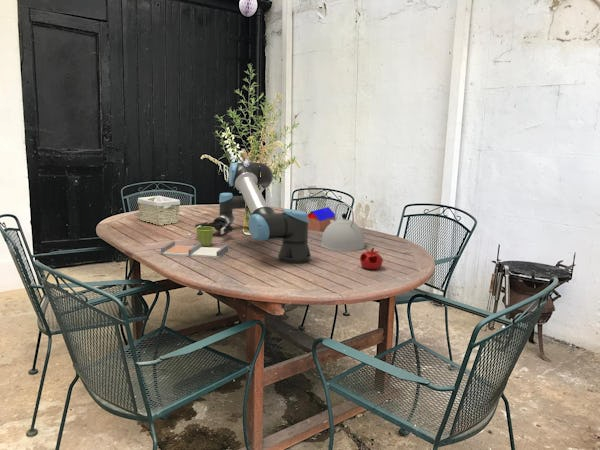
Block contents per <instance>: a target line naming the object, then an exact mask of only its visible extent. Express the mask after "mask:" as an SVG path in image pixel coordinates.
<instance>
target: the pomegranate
mask: <svg viewBox="0 0 600 450" xmlns="http://www.w3.org/2000/svg"><path fill="white" fill-rule="evenodd" d="M374 250H375V247H371V249H370V250H368V249H366V250H365V251H364V252H363V253H361V255H360V257H359V262H360V265H361V267H362V268H364V269H365V268H366V270H371V269H376V270H379V269H380V268H381V267H382V265H383V262H384V259H383V257H382V256H381V255H380V254H379V253H380V251H379V250H376V251H374Z"/></svg>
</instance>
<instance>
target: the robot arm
mask: <svg viewBox="0 0 600 450" xmlns="http://www.w3.org/2000/svg"><path fill="white" fill-rule="evenodd" d="M243 163H244V162H241V163H238V161H237V162H232V163H230V164H229V167H228V185H229V186H232V187H235V188H236V190H237V191H239V192H241V194H242V195H233V193H232V192H222V193H219V201H218V202H219V213H218V214H219V216H218V217H216V218H214V219H213V221H212V222H208V221H206V222H201V223H197V224H195V227H194V229H195V234H198V233H197V230H196V228H197V227H204V226H207V227H213V228H215V229H214V230H216V231H218V232H220V235H223V234H224V233H227V232H230V233H231V232H233V227H232V224H233V223H234V221H235V216H234V214H233V212H234V211H233V210H245V202H246V204H247V206H248V208H249V209H248V210H249V213H250V216H249V218H248V220H247V222H248V224H247V225H248V229H249V230H248V231H249V234H250V236H251V237H252V239H254V240H256V241H270V240H272V241H273V240H281V239H282V244H281V246H280V249H279V252H278V254H277V256H278V257H277V259H278V261H280V262H282V263H285V264H292V265H293V264H294V265H296V264H297V265H298V264H299V265H300V264H306V263H308V262H309V263H310V261H311V259H312V255H311V251H310V248H309V245H308V244H309V243H308V236H309V230H308V223H309V222H308V214H309V213H307V212H306V211H302V210H298V209H291V208H284V209H283V210H282V212H281V213H280V212H278V213H277V212H276V213H275V210H274V209H273V208H272V207H270V206H268V204H267V202H266V200H265V198H264V195H263V194H262V193H263V191H264V190H265V189H267V188H269V186H270V185H271V184H272V182H273V180H274V175H273V171H272V169H271V168H270V167H269V166H268V165H267V164H265V163H264V162H260V163H256V162H254V163H253V162H249V163H250V165H249V166H248V167H245V166H244V165H243ZM259 166H260V167H259ZM260 172H261V177H260ZM257 185H261V186H262V187H263V188H262V191H261V192H260V190H259V188H258V186H257Z"/></svg>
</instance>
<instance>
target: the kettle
mask: <svg viewBox="0 0 600 450" xmlns="http://www.w3.org/2000/svg"><path fill="white" fill-rule="evenodd" d="M340 205H345V206H347V207H348V208H349V210H350V212H351V217H352V219H351V220H350V219H348V218H347V217H348V215H347V214H346V213H342V214H341V217H342V218H341V219H338V217H337V210H338V207H339V206H340ZM334 214H335V219H336V221H334V220H330V223H331V224H329V225H328V226H327V227H326V229H325V230H323V233H322V236H321V246H322V247H323V248H325V249H328V250H331V251H332V250H333V251H340V252H352V251H354V252H355V250H356V251H360V249H361V250H364V249H365V247H366V245H365V244H366V243H365V241H366V240H365V235H364V232H363V230H362V228H361V227H360V226H359V225H358V224H357V223H356V222H355V221H354V220H355V214H354V210H353V208H352V207H351V206H350V205H349V204H348V203H346V202H340V203H337V204H336V206H335V208H334Z"/></svg>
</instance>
